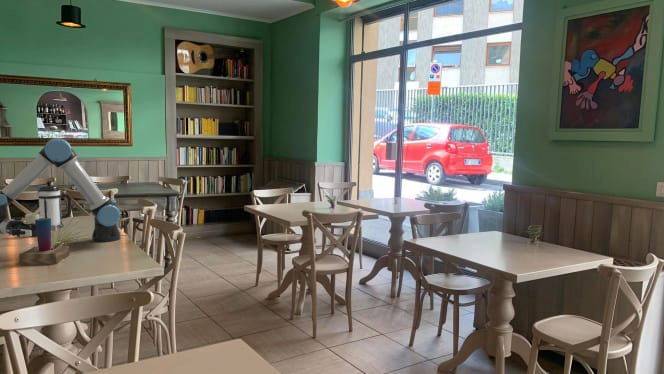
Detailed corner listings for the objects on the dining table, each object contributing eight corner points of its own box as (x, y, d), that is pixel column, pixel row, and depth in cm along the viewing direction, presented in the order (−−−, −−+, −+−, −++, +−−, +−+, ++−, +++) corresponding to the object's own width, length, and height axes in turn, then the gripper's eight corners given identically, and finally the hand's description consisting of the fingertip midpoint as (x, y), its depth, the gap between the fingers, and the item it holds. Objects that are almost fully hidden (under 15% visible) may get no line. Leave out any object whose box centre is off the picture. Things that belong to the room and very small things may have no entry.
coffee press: (58, 229, 320) (55, 182, 316) (33, 229, 320) (30, 182, 317) (72, 224, 337) (70, 179, 334) (48, 224, 337) (46, 179, 334)
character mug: (44, 234, 306) (43, 212, 304) (43, 236, 299) (42, 214, 298) (23, 235, 301) (21, 214, 299) (22, 238, 294) (20, 216, 293)
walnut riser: (69, 255, 254) (68, 245, 253) (56, 263, 238) (55, 253, 238) (34, 256, 252) (34, 246, 251) (19, 265, 236) (19, 254, 236)
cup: (36, 252, 240) (34, 220, 239) (37, 249, 246) (35, 218, 245) (52, 250, 243) (50, 219, 242) (53, 247, 249) (51, 217, 248)
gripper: (36, 230, 263) (66, 233, 255) (-12, 239, 240) (20, 243, 232) (35, 215, 262) (65, 218, 254) (-13, 224, 239) (19, 227, 231)
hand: (44, 230), depth 243 cm, fingers open, 13 cm apart
